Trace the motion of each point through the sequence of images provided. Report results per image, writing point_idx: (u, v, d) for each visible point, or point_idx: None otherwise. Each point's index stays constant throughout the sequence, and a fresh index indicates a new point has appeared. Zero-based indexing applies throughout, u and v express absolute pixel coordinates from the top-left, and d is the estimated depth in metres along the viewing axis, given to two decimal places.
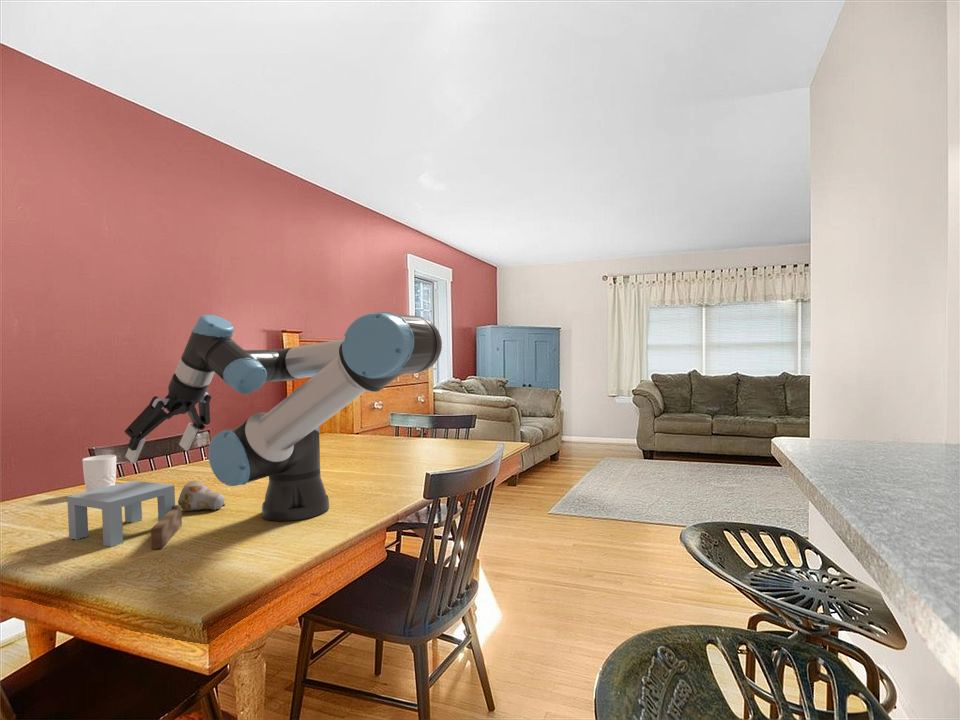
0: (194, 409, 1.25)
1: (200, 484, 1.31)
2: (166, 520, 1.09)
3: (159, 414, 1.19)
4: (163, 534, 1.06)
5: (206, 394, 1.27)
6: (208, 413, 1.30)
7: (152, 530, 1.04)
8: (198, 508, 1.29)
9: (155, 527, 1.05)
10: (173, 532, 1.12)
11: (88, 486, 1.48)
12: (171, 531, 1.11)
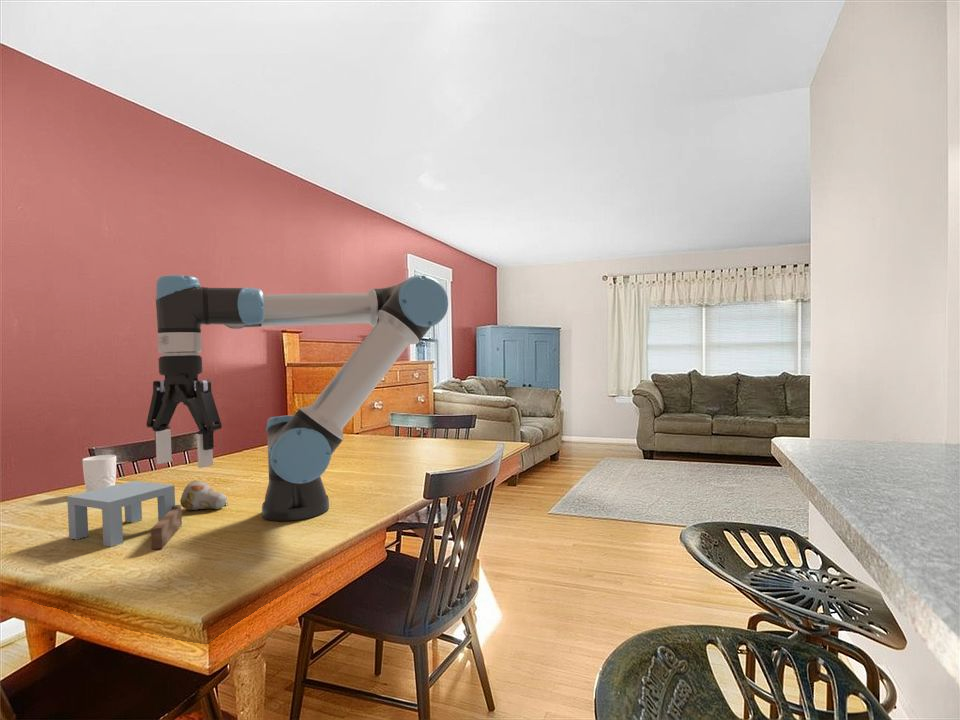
0: None
1: (202, 483, 1.32)
2: (166, 520, 1.09)
3: (196, 402, 1.04)
4: (163, 534, 1.06)
5: (162, 380, 1.08)
6: None
7: (152, 530, 1.04)
8: (200, 507, 1.30)
9: (155, 527, 1.05)
10: (173, 532, 1.12)
11: (88, 486, 1.48)
12: (171, 531, 1.11)
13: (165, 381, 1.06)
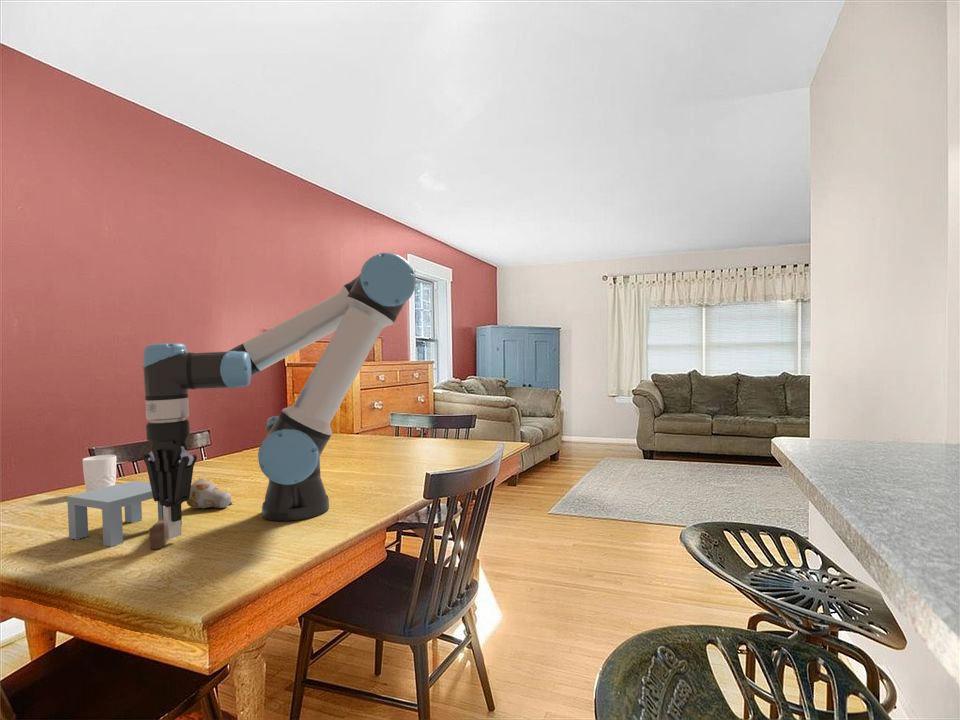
0: None
1: (208, 482, 1.33)
2: None
3: (176, 472, 1.07)
4: (162, 534, 1.06)
5: None
6: None
7: (151, 530, 1.04)
8: (205, 506, 1.31)
9: (154, 527, 1.05)
10: None
11: (88, 486, 1.48)
12: None
13: (152, 447, 1.08)
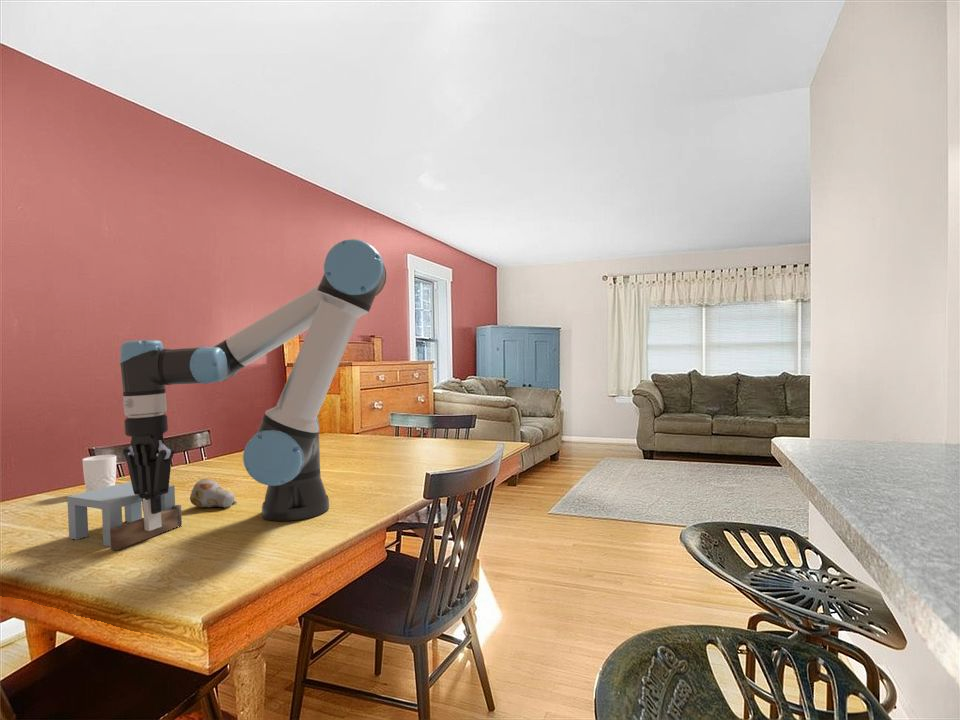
0: None
1: (212, 482, 1.33)
2: (138, 521, 1.09)
3: (155, 466, 1.10)
4: (122, 536, 1.05)
5: None
6: None
7: (111, 530, 1.05)
8: (209, 505, 1.32)
9: (115, 528, 1.05)
10: (154, 533, 1.12)
11: (88, 486, 1.48)
12: (148, 532, 1.11)
13: (131, 441, 1.11)
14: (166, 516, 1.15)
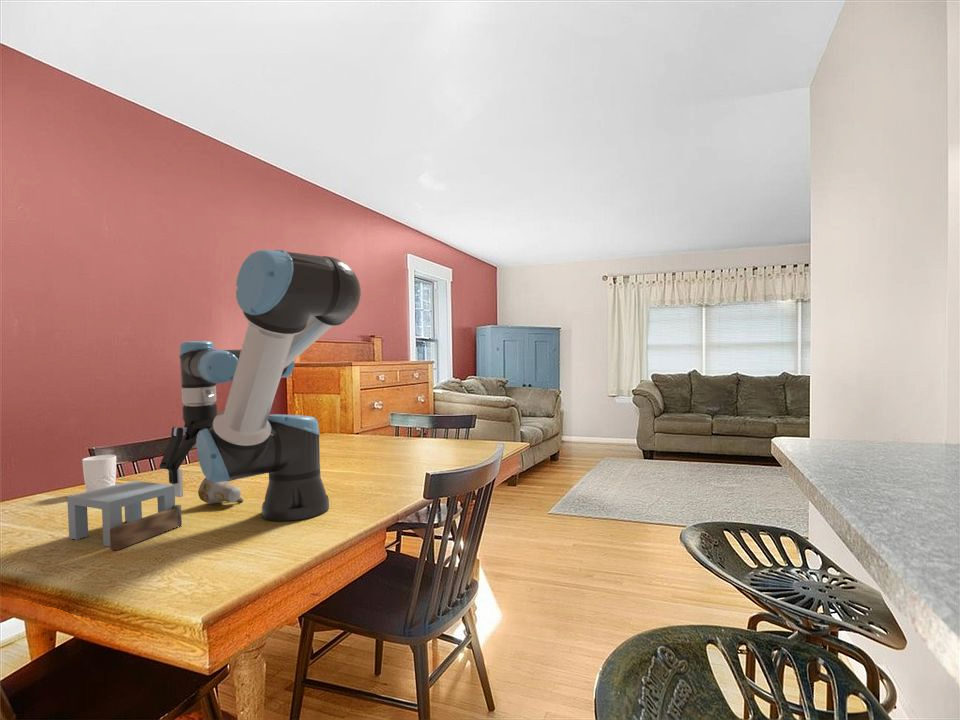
0: None
1: None
2: (138, 521, 1.09)
3: None
4: (122, 536, 1.05)
5: None
6: None
7: (110, 530, 1.05)
8: (215, 499, 1.33)
9: (115, 528, 1.05)
10: (154, 533, 1.12)
11: (88, 486, 1.48)
12: (147, 532, 1.11)
13: (192, 427, 1.28)
14: (166, 516, 1.15)
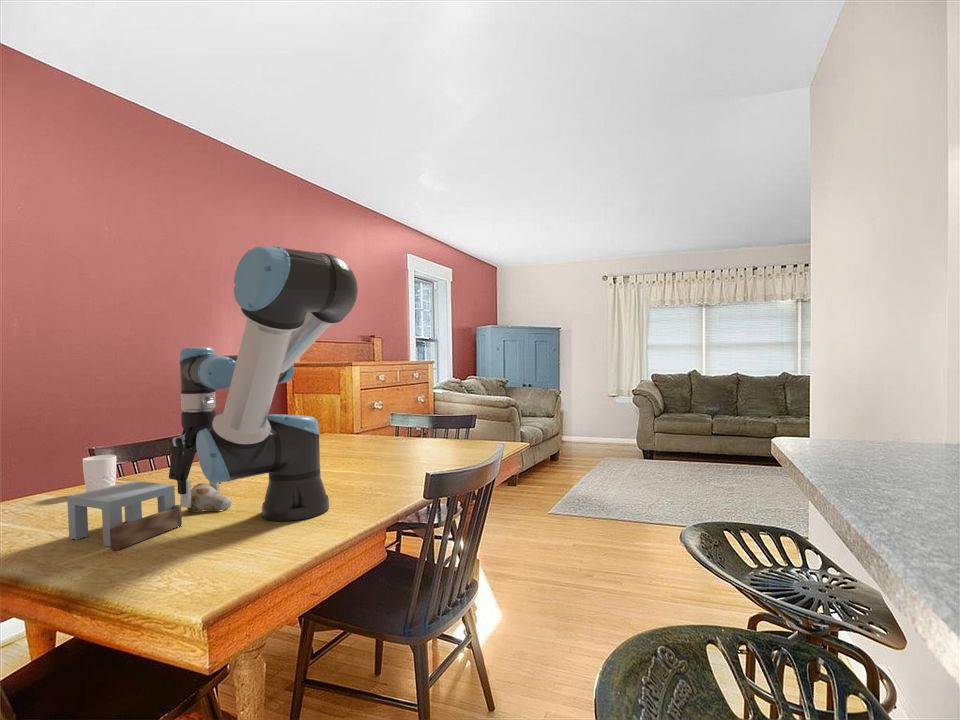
0: None
1: (208, 487, 1.32)
2: (138, 521, 1.09)
3: None
4: (122, 536, 1.05)
5: None
6: None
7: (110, 530, 1.05)
8: None
9: (115, 528, 1.05)
10: (154, 533, 1.12)
11: (88, 486, 1.48)
12: (147, 532, 1.11)
13: (190, 433, 1.28)
14: (166, 516, 1.15)
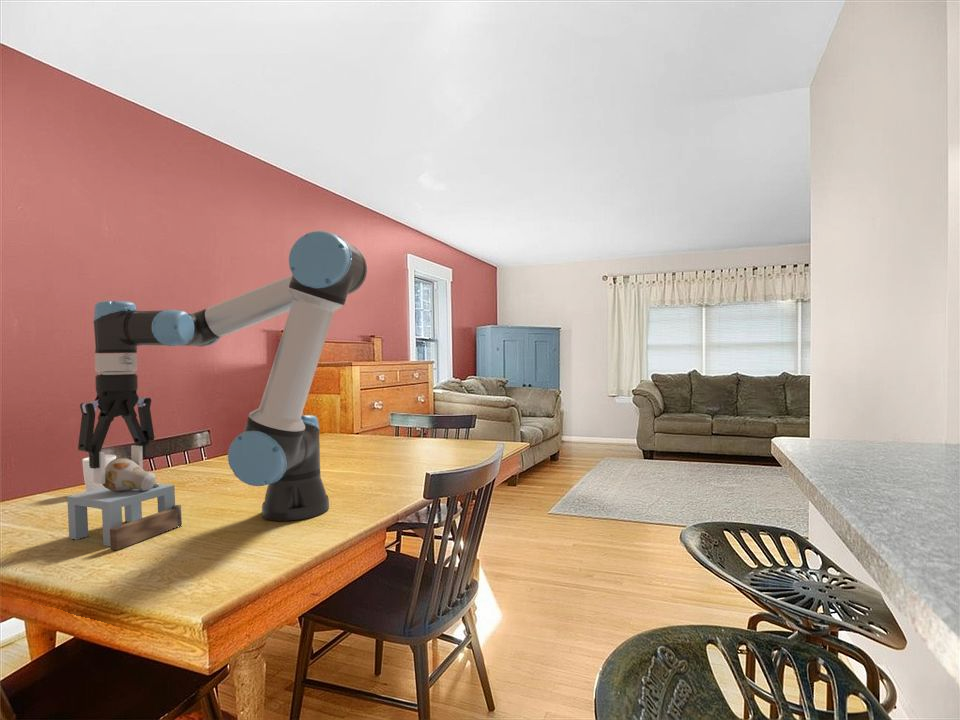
0: None
1: (128, 461, 1.15)
2: (138, 521, 1.09)
3: None
4: (122, 536, 1.05)
5: (86, 403, 1.10)
6: None
7: (110, 530, 1.05)
8: (125, 488, 1.14)
9: (115, 528, 1.05)
10: (154, 533, 1.12)
11: (88, 486, 1.48)
12: (147, 532, 1.11)
13: (104, 399, 1.12)
14: (166, 516, 1.15)
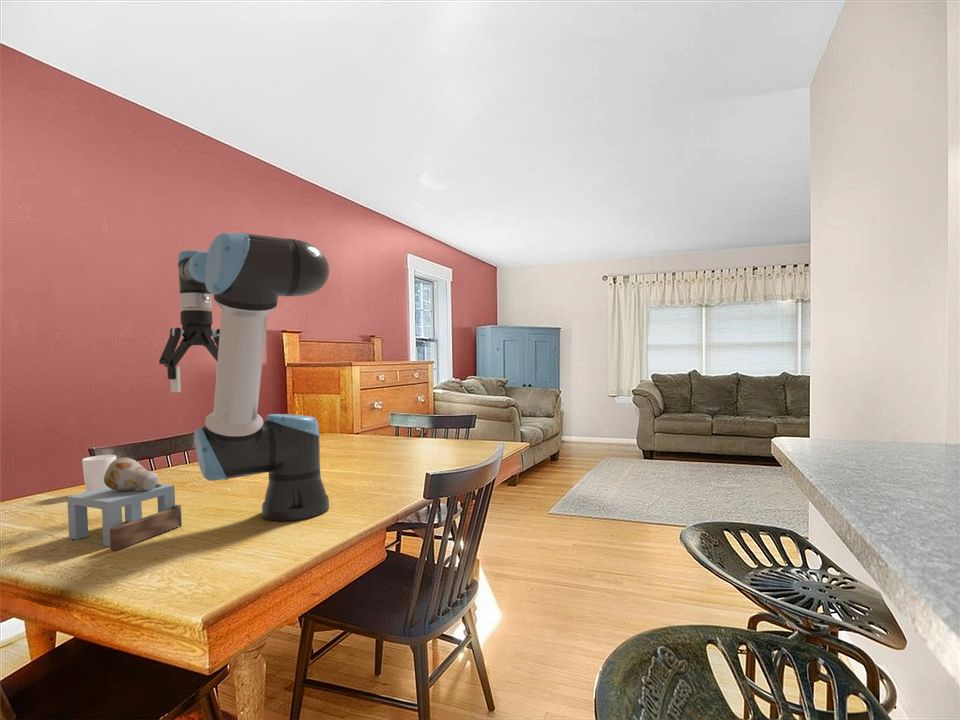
0: None
1: (131, 461, 1.16)
2: (138, 521, 1.09)
3: None
4: (122, 536, 1.05)
5: None
6: None
7: (110, 530, 1.05)
8: (127, 487, 1.14)
9: (115, 528, 1.05)
10: (154, 533, 1.12)
11: (88, 486, 1.48)
12: (147, 532, 1.11)
13: (189, 329, 1.39)
14: (166, 516, 1.15)
